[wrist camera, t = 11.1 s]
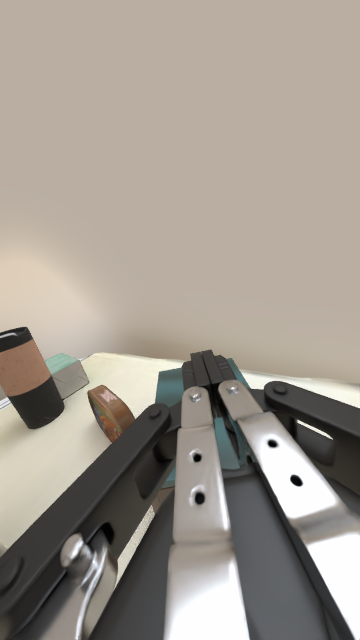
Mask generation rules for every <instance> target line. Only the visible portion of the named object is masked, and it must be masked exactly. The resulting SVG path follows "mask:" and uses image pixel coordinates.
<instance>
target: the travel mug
mask: <svg viewBox="0 0 360 640" xmlns="http://www.w3.org/2000/svg"><path fill="white" fill-rule="evenodd" d="M0 385H1V387H2V388H3V390H4V392H5V394H6V395H7V397H8V398H9V400H10V401H11V403H12V404H13V406H14V407H15V409H16V410H17V412H18V413H19V415H20V416H21V418H22V419H23V421H24V422H25V424H26V425H27V426H28V427H29V428H31V429H35V428H39V427H42V426H44V425H46V424H48V423H50V422H51V421H53V420H54V419H55V418H57V417H58V416H59V415H60V414H61V413H62V411H63V410H64V403H63V400H62V398H61V396H60V393H59V391H58V389H57V387H56V384H55V382H54V380H53V377H52V375H51V373H50V371H49V369H48V367H47V365H46V363H45V361H44V359H43V357H42V355H41V353H40V351H39V349H38V347H37V345H36V343H35V341H34V339H33V337H32V336H31V333H30V331H29V330H28V328H27V327H20V328H16V329H12V330H8V331H4V332H1V333H0Z"/></svg>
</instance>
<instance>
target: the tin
mask: <svg viewBox="0 0 360 640" xmlns="http://www.w3.org/2000/svg"><path fill="white" fill-rule="evenodd" d="M87 394H88V399H89V403H90V405H91V408H92V410H93V413H94V415H95V417H96V420H97V422H98V424H99V425H100V427H101V428H102V430H103V431H104V433H105V434H106V435H107V437H108V438H109V439H110V441H111V442H112V443H113V442H114V441H115V440H116V439H117V438H118V437H119V436H120V435H121V434H122V433H123V432H124V431H125V430H126V429H127V428H128V427H129V426H130V425H131V423H132V422H133V421H134V420H135V418H134V416H133V414H132V412H131V411H130V409H129V408H128V406H127V405H126V404H125V403H124V402H123V401H122V400H121V399H120V398H119V397H117V396H116V395H115V394H114V393H113V392H112V391H110V390H109V389H108V388H107V387H106V386H104V385H100V386H98V387H96V388H94V389H92V390H89V391H88V393H87Z"/></svg>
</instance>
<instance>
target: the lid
mask: <svg viewBox="0 0 360 640" xmlns="http://www.w3.org/2000/svg"><path fill="white" fill-rule="evenodd" d="M226 360H227V362H228V364H229V365H230V367H231V369H232V371H233V372H234V374H235V376H236V378H237V380H238V381H240V382H242V383H243V384H244V385H245V386H246V387H247V388H250V387H249V385H248V383H247V382H246V380H245V379H244V377H243V375H242V374H241V372H240V371H239V369H238V367H237V366H236V364H235V363H234V361H233V360H232V358H229V359H226ZM250 389H251V388H250ZM183 393H184V387H183V376H182V368H177V369H172V370H167V371H162V372H159V376H158V384H157V392H156V399H155V404H156V403H163V404H166V405H167V406H168V408H169V407H171V406H173V405H175V404H177V403H178V402H179V401H180V400H181V399H182V395H183ZM215 413H216V411H215ZM214 421H215V433H216V439H217V445H218V451H219V457H220V462H221V468H225V469H234V470H237V469H240V467H239V464H238V461H237V459H236V457H235V454H234V452H233V449H232V447H231V444H230V442H229V439H228V437H227V434H226V432H225V428H224V422H223V419H222V417H221V418H217V414H216V419H214ZM175 478H176V465H175V467H174V468H173V470H172V472H171V473H170V475H169V477H168V478H167V480H166V481H165V483H164V485H163V486H162V488H167V487H173V486H175ZM162 488H161V489H162Z"/></svg>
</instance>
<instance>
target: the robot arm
mask: <svg viewBox="0 0 360 640" xmlns="http://www.w3.org/2000/svg"><path fill="white" fill-rule="evenodd" d="M190 355H191V360H192V361H188V362H184V363H183V365H182V376H183V387H184V393H183V395H182V399H181V400H180V401H179V402H178V403H177V404H175V405H173V406H171V407H169V408H168V406H167V405H166V404H163V403H156V404H153V405H151V406H149V407H147V408H146V409H145V410H144V411H143V412H142V413H141V414H140V415H139V416H138V417H137V418H136V419H135V420H134V421H133V422H132V423H131V425H130V426H129V427H128V428H127V429H126V430H125V431H124V432H123V433H122V434H121V435H120V436H119V437H118V438H117V439H116V440H115V441H114V442H113V443H112V444H111V445H110V446H109V447H108V448H107V449H106V450H105V451H104V452H103V453H102V454H101V455H100V456H99V457H98V458H97V459H96V460H95V461H94V462H93V463H92V464H91V465H90V466H89V467H88V468H87V469H86V470H85V471H84V472H83V473H82V474H81V475H80V476H79V477H78V479H77V480H76V481H75V482H74V483H73V484H72V485H71V486H70V487H69V488H68V489H67V490H66V491H65V492H64V493H63V494H62V495H61V496H60V497H59V498H58V499H57V500H56V501H55V502H54V503H53V504H52V505H51V506H50V507H49V508H48V509H47V510H46V511H45V512H44V513H43V514H42V515H41V516H40V517H39V518H38V519H37V520H36V521H35V522H34V523H33V524H32V525H31V526H30V527H29V528H28V529H27V530H26V531H25V533H24V534H23V535H22V536H21V537H20V538H19V539H18V540H17V541H16V542H15V543H14V544H13V545H12V546H11V547H10V548H9V549H8V550H7V549H6V548H5V546H4V545H3V544H2V543H1V542H0V640H360V408H357V407H354V406H351V405H348V404H345V403H343V402H340V401H337V400H334V399H331V398H328V397H325V396H323V395H320V394H317V393H314V392H311V391H308V390H305V389H303V388H300V387H297V386H294V385H291V384H288V383H285V382H281V381H272V382H269V383H267V384H266V385H265V386H264V390H261V389H250V388H247V387H246V386H245V385H244V384H243V383H242V382H240V381H238V380H237V378H236V376H235V374H234V372H233V371H232V369H231V367H230V365H229V364H228V362H227V360H226V358H224V357H222V356H221V355H219V356H214V355H213V352H212V350H207V351H201V352H197V353H191V354H190ZM201 355H202V356H201ZM215 411H216V413H215ZM216 414H217V418H221V417H222V419H223V422H224V428H225V432H226V434H227V437H228V439H229V442H230V444H231V447H232V449H233V452H234V454H235V457H236V459H237V461H238V464H239V467H240V469H237V470H234V469H225V468H221V462H220V457H219V451H218V445H217V439H216V433H215V421H214V419H216ZM297 419H298V420H300V421H302V422H304V423H306V424H308V425H310V426H312V427H315V428H317V429H319V430H321V431H323V432H325V433H327V434H328V435H329V436H331V437H332V439H333V440H332V439H330V438H328V437H326V436H324V435H321V434H319V433H317V432H315V431H313V430H311V429H309V428H307V427H305V426H303V425H301V424H299V423H297ZM175 465H176V478H175V489H174V490H173V491H172V492H170V494H169V495H168V496H167V497H166V498H165V500H164V501H163V502H162V504H161V505H160V507H159V509H158V510H157V512H156V514H155V516H154V518H153V520H152V521H151V523H150V525H149V527H148V529H147V531H146V533H145V534H144V536H143V538H142V540H141V542H140V544H139V545H138V547H137V549H136V551H135V553H134V555H133V556H132V558H131V560H130V562H129V564H128V566H127V568H126V569H125V571H124V573H123V575H122V577H121V579H120V580H119V582H118V584H117V586H116V588H115V590H114V587H115V584H116V579H117V573H118V562H117V560H118V558H119V556H120V555H121V553H122V551H123V550H124V548H125V547H126V545H127V543H128V542H129V540H130V538H131V537H132V535H133V534H134V532H135V530H136V529H137V527H138V525H139V524H140V522H141V521H142V519H143V517H144V516H145V514H146V512H147V511H148V509H149V508H150V506H151V504H152V503H153V501H154V499H155V498H156V496H157V495H158V493H159V491H160V490H161V488H162V486H163V485H164V483H165V481H166V480H167V478H168V477H169V475H170V473H171V472H172V470H173V468H174V467H175ZM113 590H114V591H113Z"/></svg>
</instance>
